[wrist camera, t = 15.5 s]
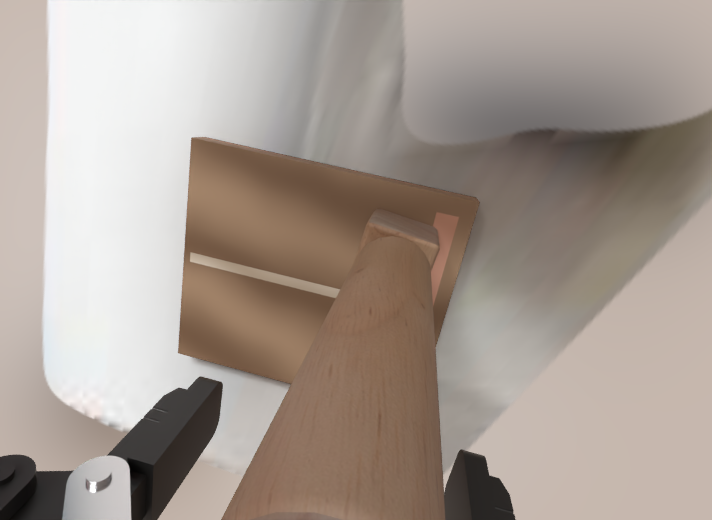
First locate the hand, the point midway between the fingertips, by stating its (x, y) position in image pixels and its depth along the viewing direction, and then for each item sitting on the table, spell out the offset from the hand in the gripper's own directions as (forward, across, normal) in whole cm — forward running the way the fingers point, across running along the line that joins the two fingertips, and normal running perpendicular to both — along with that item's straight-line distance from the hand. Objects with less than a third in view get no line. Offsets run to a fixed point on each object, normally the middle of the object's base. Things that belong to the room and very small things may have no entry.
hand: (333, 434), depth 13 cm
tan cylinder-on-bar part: (+11, 0, 0) cm, 11 cm away
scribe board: (+13, +4, 0) cm, 13 cm away
